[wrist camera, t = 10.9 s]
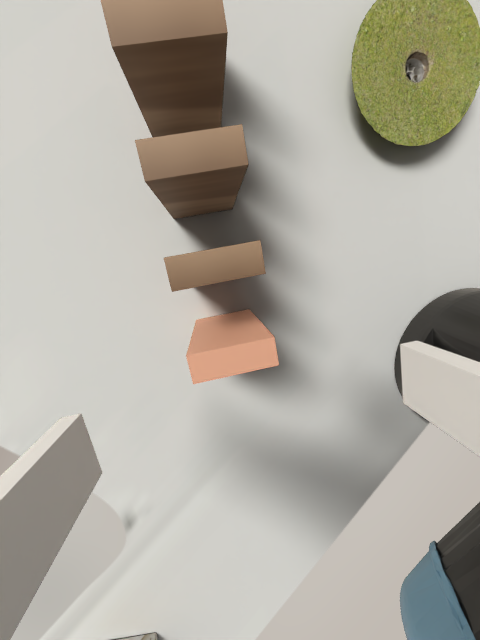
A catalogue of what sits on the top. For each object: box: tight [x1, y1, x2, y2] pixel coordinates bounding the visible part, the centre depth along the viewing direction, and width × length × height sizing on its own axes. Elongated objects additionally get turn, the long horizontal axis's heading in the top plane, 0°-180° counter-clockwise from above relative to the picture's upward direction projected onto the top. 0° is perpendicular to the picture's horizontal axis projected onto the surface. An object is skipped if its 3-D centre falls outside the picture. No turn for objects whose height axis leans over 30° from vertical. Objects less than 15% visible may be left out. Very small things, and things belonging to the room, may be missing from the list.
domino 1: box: [101, 0, 228, 137], centre depth 16 cm, size 2×5×10 cm, turn 101°
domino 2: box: [135, 124, 248, 219], centre depth 17 cm, size 2×5×10 cm, turn 101°
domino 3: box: [164, 240, 266, 292], centre depth 18 cm, size 2×5×10 cm, turn 100°
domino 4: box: [186, 309, 279, 384], centre depth 20 cm, size 2×5×10 cm, turn 100°
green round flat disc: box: [351, 0, 480, 146], centre depth 21 cm, size 11×11×2 cm
